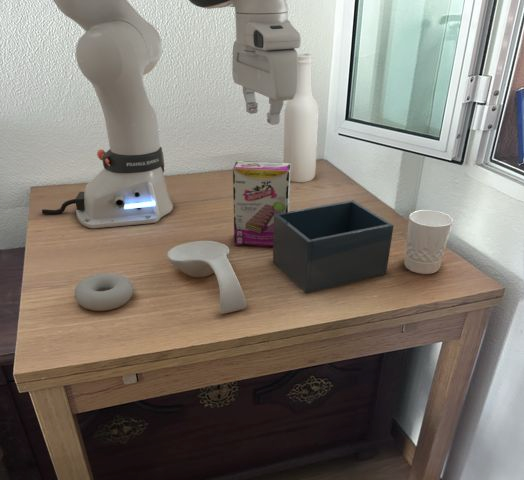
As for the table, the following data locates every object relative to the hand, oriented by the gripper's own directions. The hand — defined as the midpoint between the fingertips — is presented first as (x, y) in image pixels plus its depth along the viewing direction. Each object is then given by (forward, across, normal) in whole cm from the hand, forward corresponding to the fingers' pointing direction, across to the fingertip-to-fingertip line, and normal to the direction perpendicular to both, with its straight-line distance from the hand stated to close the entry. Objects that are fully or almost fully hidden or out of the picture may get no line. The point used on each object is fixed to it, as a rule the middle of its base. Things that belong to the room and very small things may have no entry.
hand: (262, 118), depth 100 cm
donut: (+25, +10, -35) cm, 44 cm away
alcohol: (+25, -34, +27) cm, 50 cm away
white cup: (+25, +23, +24) cm, 42 cm away
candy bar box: (+25, 0, 0) cm, 25 cm away
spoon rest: (+25, +12, -16) cm, 32 cm away
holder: (+25, +16, +7) cm, 30 cm away
